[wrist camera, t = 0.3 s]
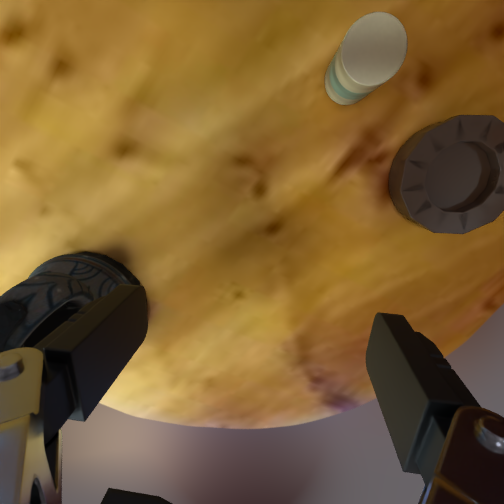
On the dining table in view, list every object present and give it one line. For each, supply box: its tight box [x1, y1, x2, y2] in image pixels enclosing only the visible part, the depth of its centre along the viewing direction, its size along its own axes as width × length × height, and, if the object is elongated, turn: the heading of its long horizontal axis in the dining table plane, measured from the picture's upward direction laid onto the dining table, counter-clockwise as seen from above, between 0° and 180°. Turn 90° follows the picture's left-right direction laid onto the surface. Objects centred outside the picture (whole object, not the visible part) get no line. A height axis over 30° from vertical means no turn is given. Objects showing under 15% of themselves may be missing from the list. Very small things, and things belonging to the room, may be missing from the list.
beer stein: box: [0, 252, 147, 353], centre depth 31 cm, size 16×19×25 cm
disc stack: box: [325, 12, 407, 105], centre depth 28 cm, size 5×5×9 cm
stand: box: [389, 115, 504, 234], centre depth 32 cm, size 12×12×4 cm
